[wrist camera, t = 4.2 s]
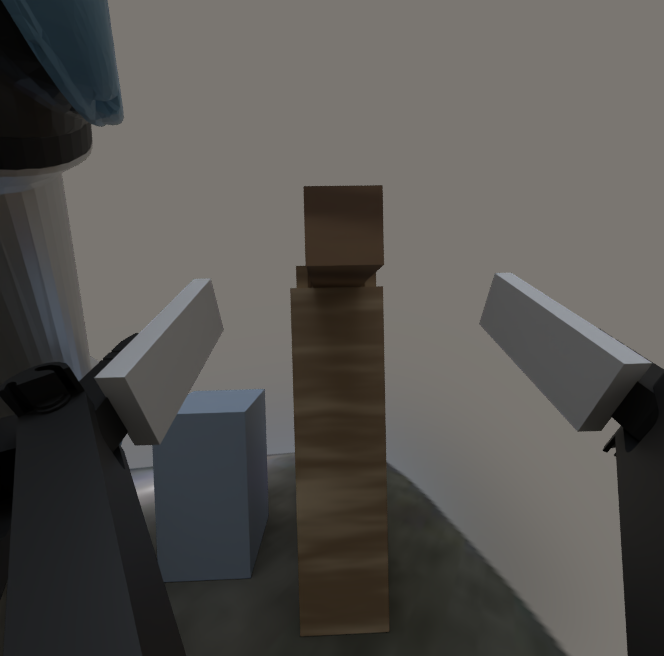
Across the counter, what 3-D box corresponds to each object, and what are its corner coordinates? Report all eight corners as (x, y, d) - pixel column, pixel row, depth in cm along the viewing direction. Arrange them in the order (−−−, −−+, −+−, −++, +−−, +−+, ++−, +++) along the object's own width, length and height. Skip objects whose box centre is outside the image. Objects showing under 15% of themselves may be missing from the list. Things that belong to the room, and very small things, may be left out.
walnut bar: (383, 264, 14) (382, 185, 14) (305, 266, 14) (303, 186, 14) (347, 298, 38) (346, 269, 38) (317, 299, 38) (316, 269, 38)
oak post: (389, 631, 25) (382, 263, 24) (300, 636, 25) (289, 264, 24) (366, 521, 39) (361, 283, 38) (309, 523, 39) (302, 284, 38)
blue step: (250, 578, 31) (244, 411, 31) (158, 582, 31) (151, 414, 30) (268, 515, 41) (264, 389, 41) (199, 518, 41) (194, 391, 40)
